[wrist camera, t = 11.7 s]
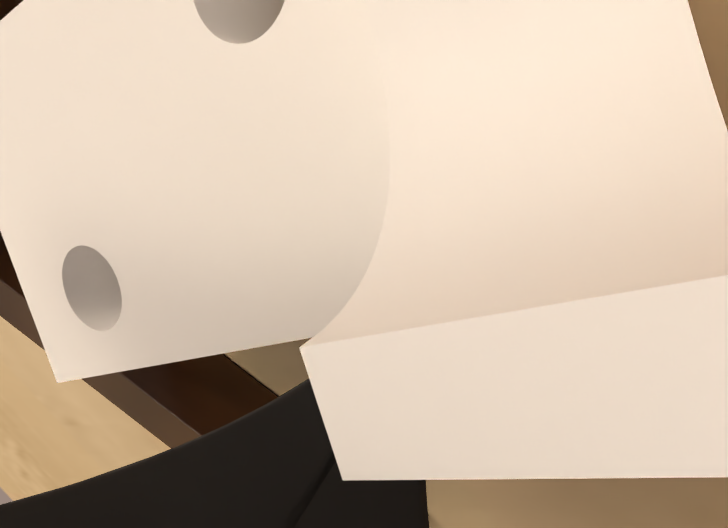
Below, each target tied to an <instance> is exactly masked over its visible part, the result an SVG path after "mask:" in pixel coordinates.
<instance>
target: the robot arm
mask: <svg viewBox="0 0 728 528" xmlns="http://www.w3.org/2000/svg"><path fill="white" fill-rule="evenodd" d="M0 528H429V521H428V510H427V496H426V480H342V477H341V474H340V471H339V468H338V464H337V461H336V458H335V455H334V452H333V449H332V446H331V443H330V440H329V437H328V434H327V431H326V428H325V425H324V422H323V419H322V416H321V413H320V410H319V407H318V404H317V401H316V397H315V394H314V391H313V388H312V385H311V382H310V379H307V380H306V381H304V382H303V383H301V384H299V385H298V386H296V387H294V388H293V389H291V390H289V391H288V392H286V393H284V394H283V395H281V396H280V397H278V398H276V399H274V400H273V401H271V402H269V403H267V404H265V405H263V406H262V407H260V408H258V409H256V410H254V411H252V412H250V413H248V414H246V415H244V416H242V417H240V418H238V419H236V420H234V421H232V422H230V423H228V424H226V425H224V426H222V427H220V428H218V429H216V430H213V431H211V432H209V433H207V434H204V435H202V436H200V437H198V438H195V439H193V440H191V441H189V442H186V443H184V444H182V445H179V446H177V447H175V448H172V449H170V450H167V451H165V452H162V453H160V454H157V455H155V456H152V457H149V458H147V459H144V460H141V461H138V462H135V463H132V464H130V465H127V466H124V467H121V468H118V469H115V470H113V471H110V472H107V473H104V474H101V475H98V476H96V477H93V478H90V479H87V480H84V481H81V482H78V483H75V484H72V485H68V486H65V487H62V488H59V489H55V490H51V491H48V492H44V493H41V494H37V495H34V496H30V497H27V498H23V499H20V500H16V501H13V502H9V503H6V504H2V505H0Z"/></svg>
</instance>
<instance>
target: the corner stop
mask: <svg viewBox="0 0 728 528" xmlns="http://www.w3.org/2000/svg"><path fill="white" fill-rule="evenodd" d="M22 1H23V0H0V20H2V19H3V18H4V17H5V16H6V15H7V14H8V13H10V12H11V11H12V10H13V9H14V8H15V7H16V6H18V5H19V4H20V3H21V2H22ZM0 316H1V317H3V318H4V319H5V320H6V321H8V322H9V323H10V324H12V325H13V326H14V327H15V328H17V329H18V330H19V331H21V332H22V333H23V334H24V335H26V336H27V337H28V338H30V339H31V340H32V341H33V342H35V343H36V344H37V345H39V346H40V347H41V348H42V349H44V346H43V344H42V341H41V338H40V335H39V333H38V330H37V327H36V325H35V322H34V319H33V317H32V314H31V311H30V309H29V306H28V303H27V301H26V298H25V295H24V293H23V290H22V287H21V285H20V282H19V279H18V277H17V274H16V271H15V269H14V266H13V263H12V261H11V258H10V255H9V253H8V250H7V247H6V245H5V242H4V239H3V237H2V234H1V231H0ZM44 350H45V349H44ZM82 380H84V381H85V382H86V383H88V384H89V385H90V386H91V387H93V388H94V389H95V390H97V391H98V392H99V393H100V394H102V395H103V396H104V397H106V398H107V399H108V400H109V401H111V402H112V403H113V404H115V405H116V406H117V407H118V408H120V409H121V410H122V411H124V412H125V413H126V414H127V415H129V416H130V417H131V418H133V419H134V420H135V421H136V422H138V423H139V424H140V425H142V426H143V427H144V428H146V429H147V430H148V431H149V432H151V433H152V434H153V435H155V436H156V437H157V438H158V439H160V440H161V441H162V442H164V443H165V444H166V445H167V446H169V447H170V448H171V449H172V448H175V447H177V446H179V445H182V444H184V443H186V442H189V441H191V440H193V439H195V438H198V437H200V436H202V435H204V434H207V433H209V432H211V431H213V430H216V429H218V428H220V427H222V426H224V425H226V424H228V423H230V422H232V421H234V420H236V419H238V418H240V417H242V416H244V415H246V414H248V413H250V412H252V411H254V410H256V409H258V408H260V407H262V406H263V405H265V404H267V403H269V402H271V401H273V400H274V399H276V398H278V397H277V396H276V395H275V394H273V393H272V392H271V391H269V390H268V389H267V388H265V387H264V386H263V385H262V384H260V383H259V382H258V381H256V380H255V379H254V378H252V377H251V376H250V375H249V374H247V373H246V372H245V371H243V370H242V369H241V368H239V367H238V366H237V365H236V364H234V363H233V362H232V361H230V360H229V359H228V358H226V357H225V356H224V355H223V354H217V355H211V356H206V357H200V358H195V359H189V360H183V361H178V362H172V363H167V364H161V365H155V366H150V367H144V368H139V369H133V370H127V371H122V372H116V373H110V374H105V375H99V376H94V377H88V378H82Z"/></svg>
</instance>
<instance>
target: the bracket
mask: <svg viewBox="0 0 728 528" xmlns="http://www.w3.org/2000/svg"><path fill="white" fill-rule="evenodd" d="M0 231H1V234H2V237H3V239H4V242H5V245H6V247H7V250H8V253H9V255H10V258H11V261H12V263H13V266H14V269H15V271H16V274H17V277H18V279H19V282H20V285H21V287H22V290H23V293H24V295H25V298H26V301H27V303H28V306H29V309H30V311H31V314H32V317H33V319H34V322H35V325H36V327H37V330H38V333H39V335H40V338H41V341H42V344H43V346H44V349H45V352H46V354H47V357H48V360H49V362H50V365H51V368H52V370H53V373H54V376H55V378H56V381H57V383H60V382H66V381H71V380H77V379H82V378H88V377H94V376H99V375H105V374H110V373H116V372H122V371H127V370H133V369H139V368H144V367H150V366H155V365H161V364H167V363H172V362H178V361H183V360H189V359H195V358H200V357H206V356H211V355H217V354H223V353H228V352H234V351H240V350H245V349H251V348H256V347H262V346H268V345H273V344H279V343H284V342H290V341H296V340H301V339H307V338H311V339H310V340H309V341H307V342H306V343H305V344H303V345H302V346H300V347H299V349H300V352H301V355H302V358H303V361H304V364H305V367H306V370H307V373H308V376H309V379H310V382H311V385H312V388H313V391H314V394H315V397H316V401H317V404H318V407H319V410H320V413H321V416H322V419H323V422H324V425H325V428H326V431H327V434H328V437H329V440H330V443H331V446H332V449H333V452H334V455H335V458H336V461H337V464H338V468H339V471H340V474H341V477H342V480H460V479H579V478H697V477H728V131H727V128H726V125H725V122H724V119H723V116H722V113H721V110H720V107H719V104H718V101H717V98H716V94H715V91H714V88H713V85H712V82H711V78H710V75H709V72H708V69H707V65H706V62H705V59H704V55H703V52H702V49H701V45H700V42H699V39H698V35H697V32H696V28H695V25H694V21H693V18H692V14H691V11H690V7H689V3H688V0H23V1H22V2H21V3H20V4H19V5H18V6H16V7H15V8H14V9H13V10H12V11H11V12H10V13H8V14H7V15H6V16H5V17H4V18H3V19H2V20H0ZM312 337H313V338H312Z"/></svg>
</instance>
